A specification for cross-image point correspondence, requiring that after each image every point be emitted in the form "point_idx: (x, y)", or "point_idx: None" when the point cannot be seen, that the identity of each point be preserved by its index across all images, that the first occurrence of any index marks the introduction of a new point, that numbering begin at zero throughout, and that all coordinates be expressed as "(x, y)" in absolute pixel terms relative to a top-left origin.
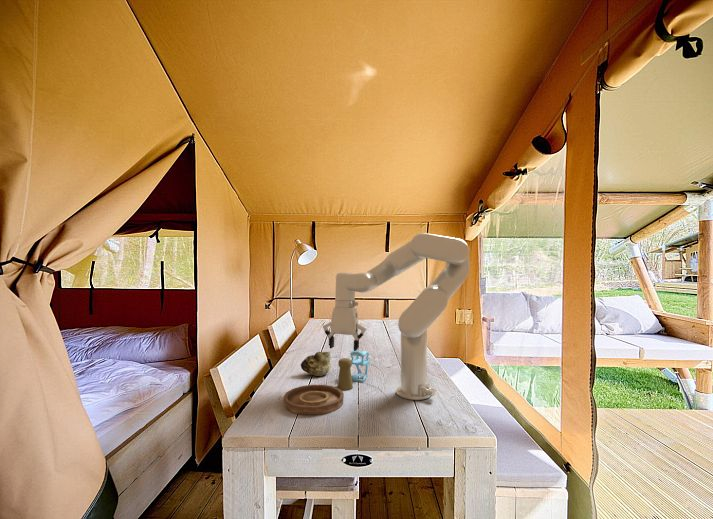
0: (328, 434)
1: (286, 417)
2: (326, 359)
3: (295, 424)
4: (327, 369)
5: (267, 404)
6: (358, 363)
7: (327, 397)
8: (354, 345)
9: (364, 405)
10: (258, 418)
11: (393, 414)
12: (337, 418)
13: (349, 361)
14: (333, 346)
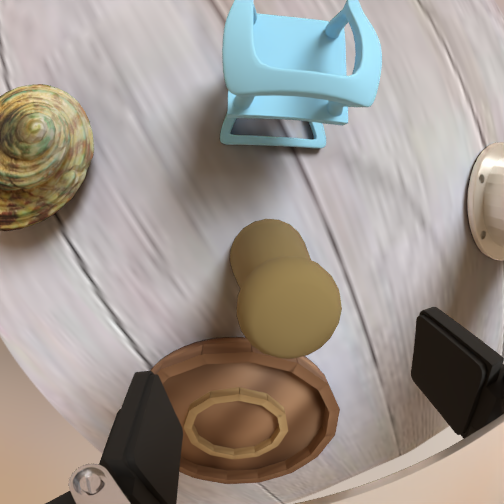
0: (348, 478)
1: None
2: (53, 161)
3: (268, 487)
4: (88, 155)
5: None
6: (307, 118)
7: (283, 420)
8: (441, 407)
9: (395, 362)
10: (179, 492)
11: None
12: (345, 444)
13: (336, 325)
14: (161, 388)
